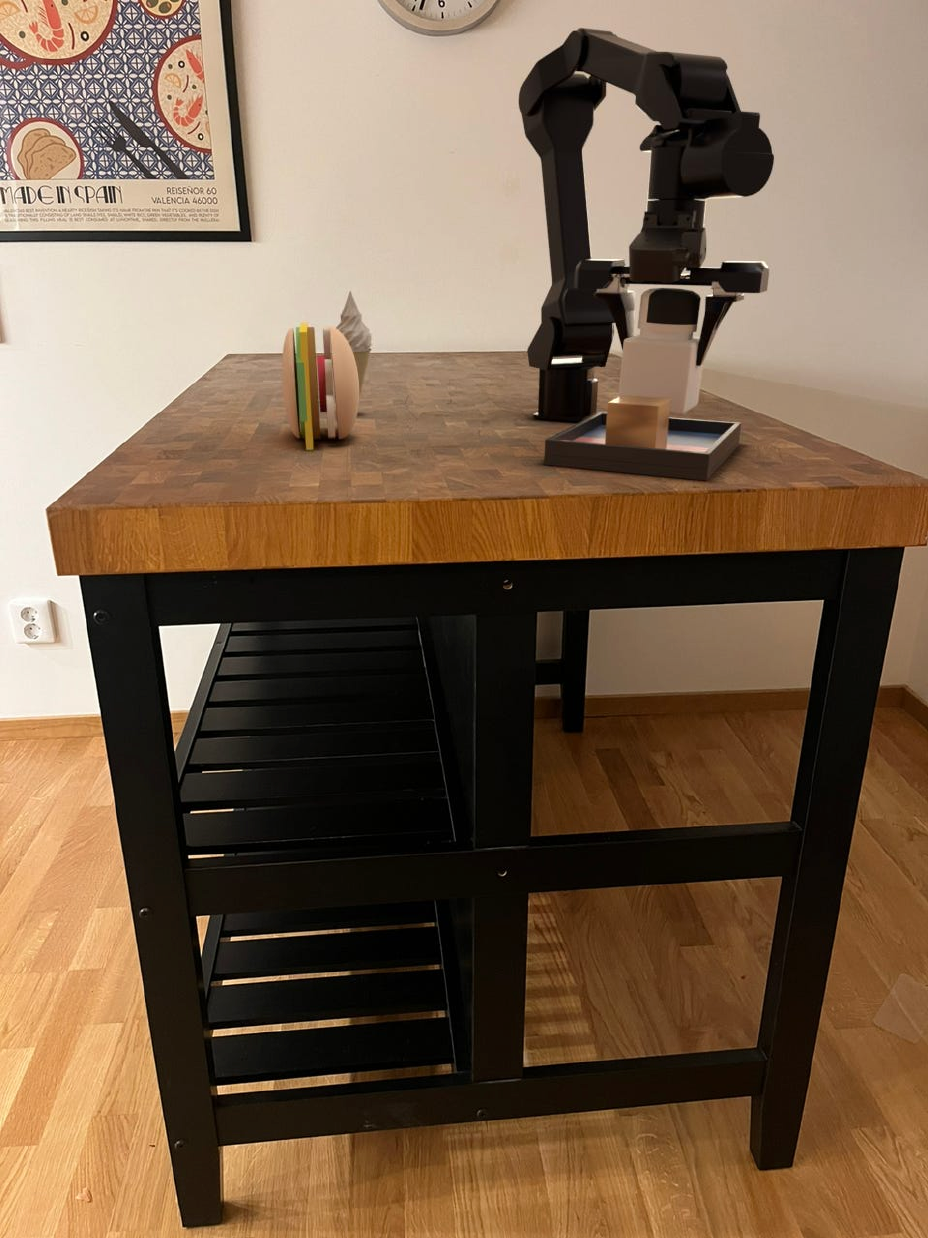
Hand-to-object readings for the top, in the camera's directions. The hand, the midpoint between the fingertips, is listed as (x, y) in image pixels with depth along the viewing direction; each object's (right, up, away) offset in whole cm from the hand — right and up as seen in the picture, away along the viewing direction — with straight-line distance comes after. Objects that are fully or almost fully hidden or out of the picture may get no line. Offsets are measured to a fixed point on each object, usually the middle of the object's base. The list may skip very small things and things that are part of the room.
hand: (662, 363), depth 98 cm
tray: (-2, -10, -1) cm, 10 cm away
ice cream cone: (-35, -1, +21) cm, 41 cm away
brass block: (-4, -10, -5) cm, 12 cm away
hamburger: (-37, -7, +7) cm, 38 cm away
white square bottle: (0, -4, +2) cm, 5 cm away
